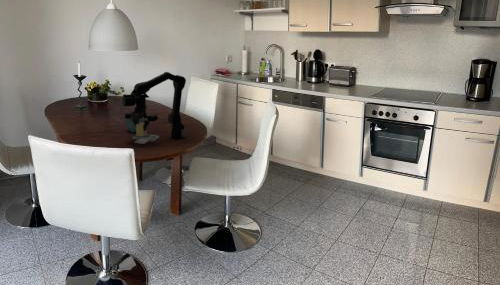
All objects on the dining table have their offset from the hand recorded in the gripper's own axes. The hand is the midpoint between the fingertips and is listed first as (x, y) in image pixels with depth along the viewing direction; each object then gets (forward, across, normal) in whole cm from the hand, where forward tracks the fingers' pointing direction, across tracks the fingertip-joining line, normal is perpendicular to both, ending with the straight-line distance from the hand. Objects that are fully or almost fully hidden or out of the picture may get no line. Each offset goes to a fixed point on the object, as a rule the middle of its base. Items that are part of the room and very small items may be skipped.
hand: (141, 130), depth 224 cm
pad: (+7, 0, 0) cm, 7 cm away
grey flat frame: (+7, -1, +7) cm, 10 cm away
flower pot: (+7, -15, +19) cm, 26 cm away
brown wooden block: (+3, 0, 0) cm, 3 cm away
